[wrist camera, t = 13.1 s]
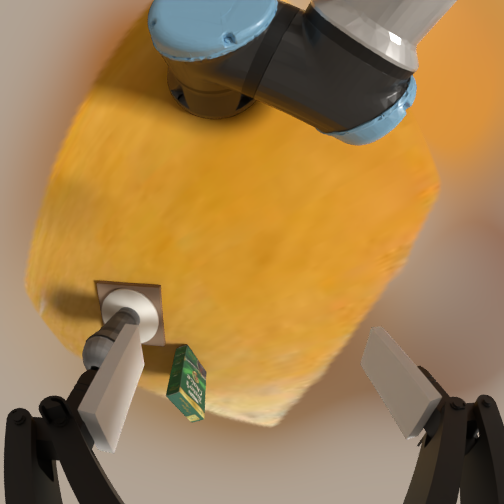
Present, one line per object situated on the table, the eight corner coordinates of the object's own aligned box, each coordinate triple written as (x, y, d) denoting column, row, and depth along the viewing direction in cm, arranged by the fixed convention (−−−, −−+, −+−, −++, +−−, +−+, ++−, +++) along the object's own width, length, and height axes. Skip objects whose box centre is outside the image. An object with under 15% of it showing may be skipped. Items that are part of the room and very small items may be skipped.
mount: (99, 280, 45) (94, 284, 44) (160, 285, 47) (158, 289, 45) (108, 336, 49) (105, 342, 47) (165, 342, 50) (163, 348, 48)
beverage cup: (129, 292, 44) (79, 363, 25) (155, 324, 46) (122, 405, 27) (102, 311, 45) (51, 380, 26) (128, 341, 47) (90, 417, 28)
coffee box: (208, 372, 52) (205, 420, 40) (196, 376, 53) (190, 424, 40) (188, 343, 50) (179, 390, 38) (175, 348, 50) (163, 394, 38)
